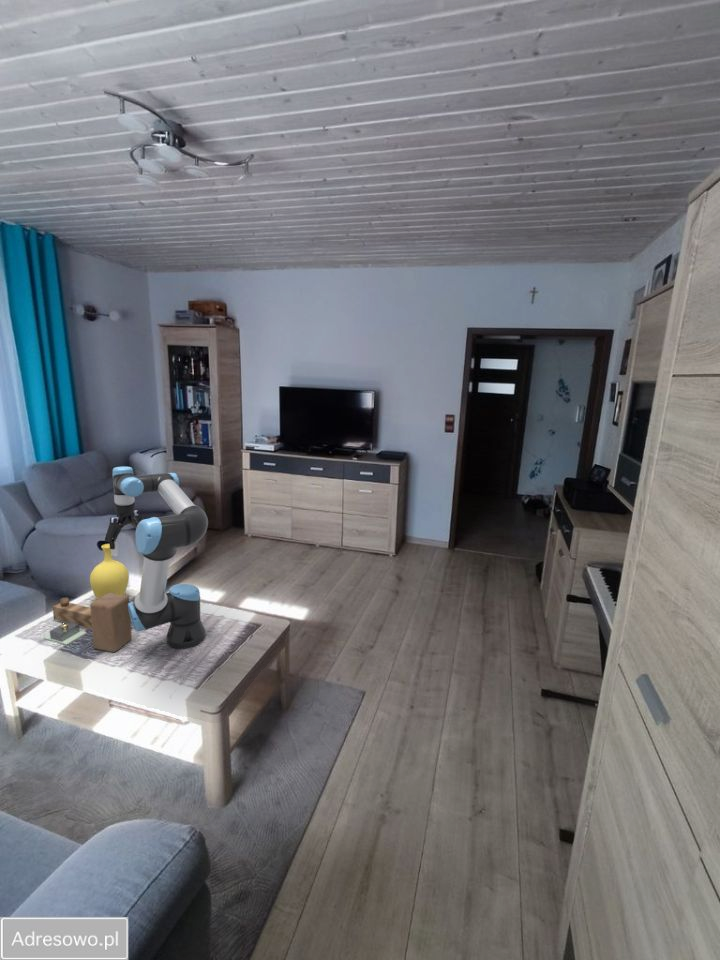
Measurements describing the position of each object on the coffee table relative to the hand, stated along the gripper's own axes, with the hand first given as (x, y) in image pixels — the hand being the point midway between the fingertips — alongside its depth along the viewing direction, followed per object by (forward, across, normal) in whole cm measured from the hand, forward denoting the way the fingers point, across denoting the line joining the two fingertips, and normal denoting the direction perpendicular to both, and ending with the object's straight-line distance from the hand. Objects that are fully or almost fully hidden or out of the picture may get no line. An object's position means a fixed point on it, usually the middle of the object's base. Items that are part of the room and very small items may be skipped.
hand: (127, 550), depth 186 cm
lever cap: (+32, +20, -14) cm, 41 cm away
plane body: (+33, +11, -16) cm, 38 cm away
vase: (+33, -10, -22) cm, 41 cm away
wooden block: (+33, +18, +8) cm, 38 cm away
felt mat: (+33, +20, -14) cm, 41 cm away
